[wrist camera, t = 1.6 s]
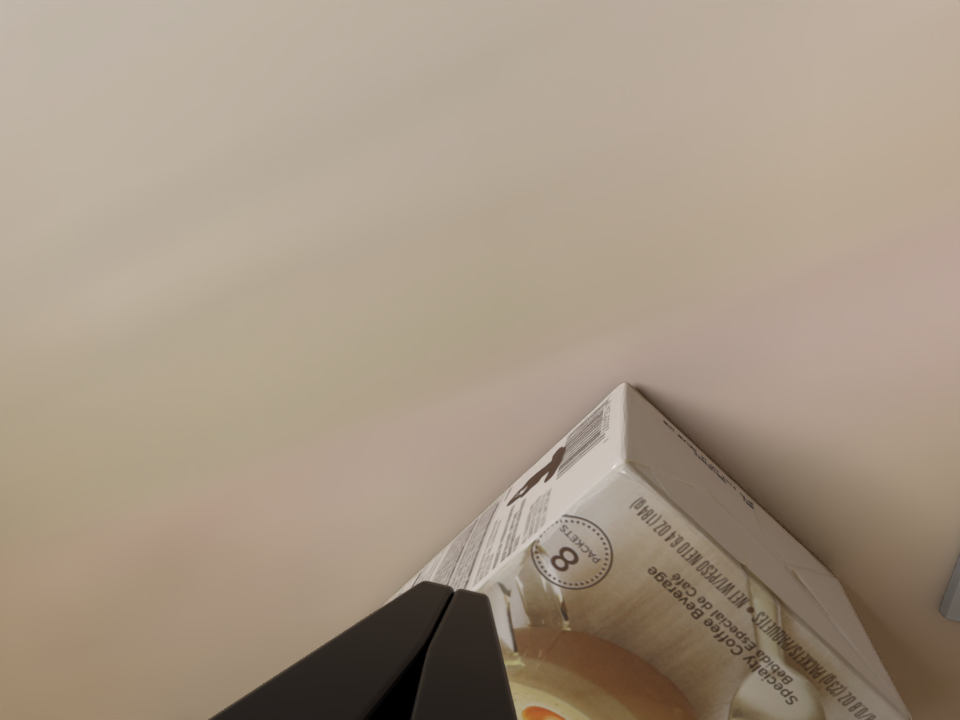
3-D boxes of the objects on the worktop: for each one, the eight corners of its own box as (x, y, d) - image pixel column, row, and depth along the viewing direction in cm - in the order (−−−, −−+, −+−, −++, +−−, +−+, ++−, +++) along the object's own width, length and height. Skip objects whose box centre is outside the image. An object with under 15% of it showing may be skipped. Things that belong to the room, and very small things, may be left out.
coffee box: (932, 743, 14) (457, 1013, 19) (840, 572, 20) (497, 814, 25) (617, 456, 14) (224, 809, 19) (619, 369, 20) (319, 657, 25)
